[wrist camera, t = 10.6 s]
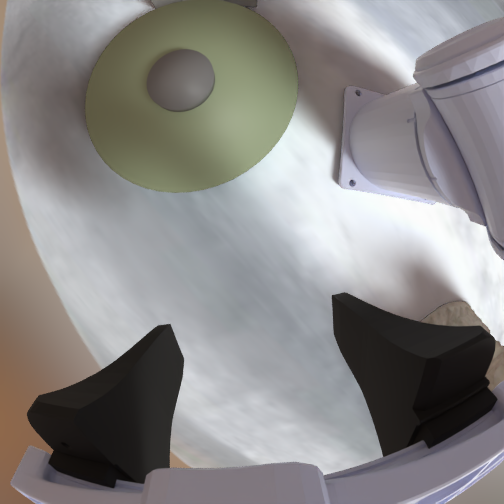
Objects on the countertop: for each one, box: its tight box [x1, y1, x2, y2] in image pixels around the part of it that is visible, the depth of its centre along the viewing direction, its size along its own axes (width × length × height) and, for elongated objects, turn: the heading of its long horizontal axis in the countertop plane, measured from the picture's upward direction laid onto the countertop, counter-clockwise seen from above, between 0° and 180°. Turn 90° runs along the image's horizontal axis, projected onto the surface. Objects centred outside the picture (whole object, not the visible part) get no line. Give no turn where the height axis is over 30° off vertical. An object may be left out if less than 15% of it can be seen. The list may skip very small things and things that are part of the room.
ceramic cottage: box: [420, 301, 504, 392], centre depth 19 cm, size 16×16×15 cm
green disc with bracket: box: [85, 0, 298, 193], centre depth 13 cm, size 14×26×4 cm, turn 175°
